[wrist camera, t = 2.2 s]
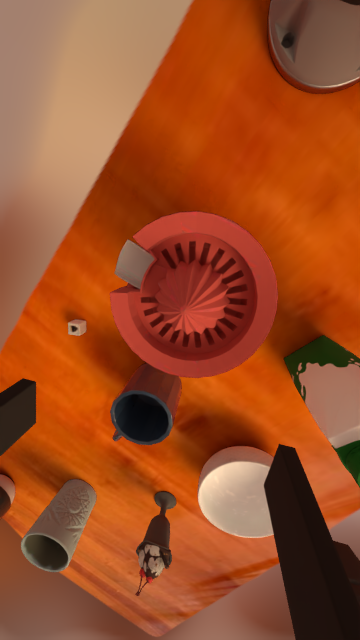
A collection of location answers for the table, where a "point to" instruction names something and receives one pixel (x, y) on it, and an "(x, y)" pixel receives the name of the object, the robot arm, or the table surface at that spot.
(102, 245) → the table surface
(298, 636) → the robot arm
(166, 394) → the mug
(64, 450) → the table surface
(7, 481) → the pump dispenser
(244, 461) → the cereal bowl
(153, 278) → the citrus juicer
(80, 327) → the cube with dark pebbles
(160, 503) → the sundae
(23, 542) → the grey embossed cup
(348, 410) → the milk carton
